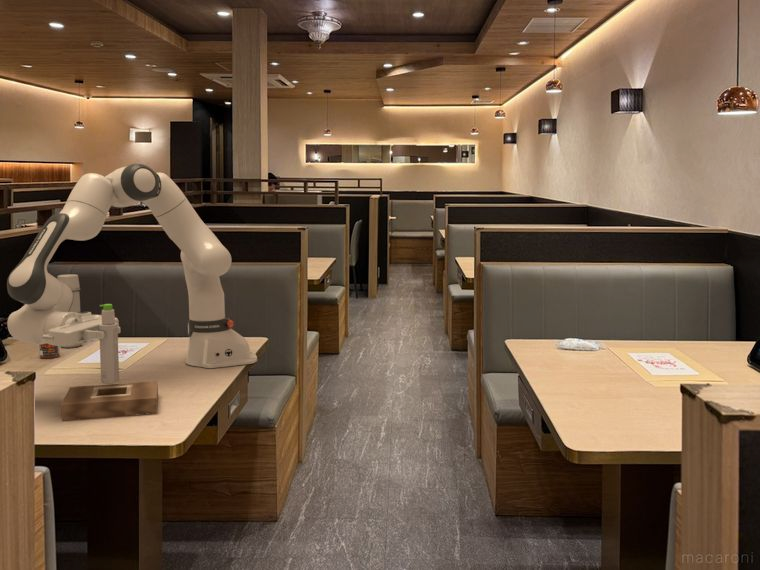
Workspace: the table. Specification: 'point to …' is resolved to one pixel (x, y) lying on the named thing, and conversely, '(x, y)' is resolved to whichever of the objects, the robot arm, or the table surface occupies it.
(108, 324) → the bottle
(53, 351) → the supplement bottle
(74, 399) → the socket board
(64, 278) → the water bottle
